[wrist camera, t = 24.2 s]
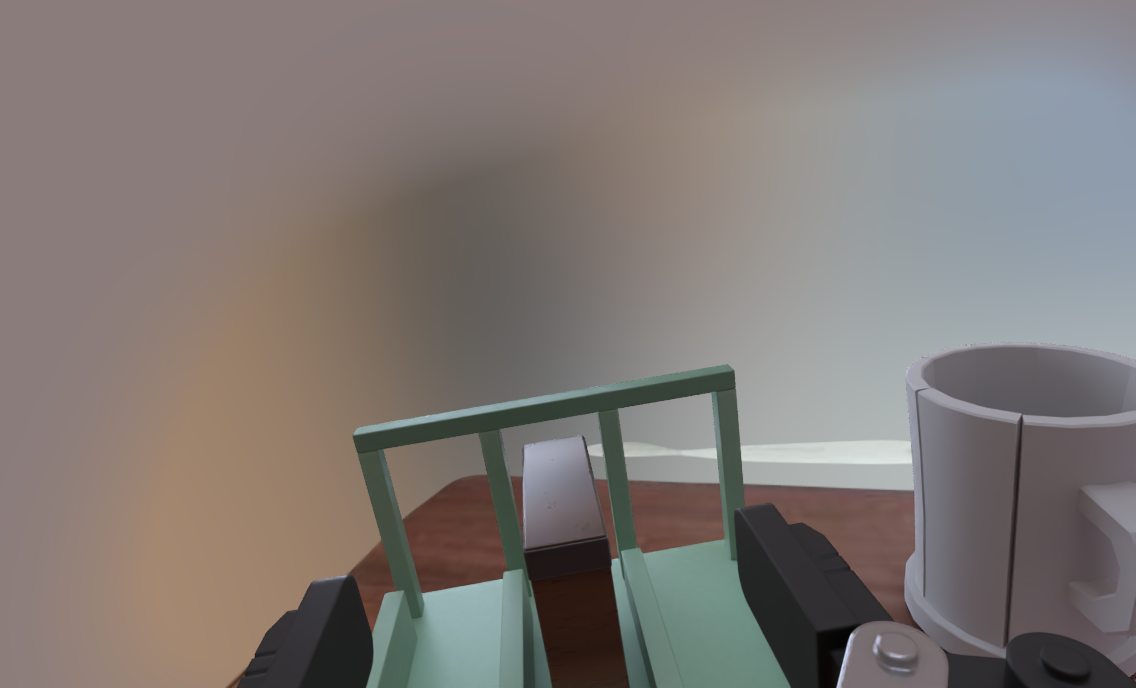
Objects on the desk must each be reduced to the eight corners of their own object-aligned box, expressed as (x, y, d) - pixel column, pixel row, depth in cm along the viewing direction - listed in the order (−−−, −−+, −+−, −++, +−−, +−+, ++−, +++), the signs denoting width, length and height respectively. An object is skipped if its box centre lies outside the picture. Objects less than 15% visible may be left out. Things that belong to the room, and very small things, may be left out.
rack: (918, 840, 20) (924, 530, 17) (316, 959, 20) (193, 662, 16) (746, 549, 36) (731, 356, 32) (405, 611, 35) (352, 420, 31)
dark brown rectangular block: (642, 758, 23) (607, 535, 20) (567, 772, 23) (522, 550, 20) (612, 610, 31) (584, 433, 28) (555, 620, 31) (522, 444, 28)
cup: (1231, 644, 25) (1286, 374, 22) (1151, 782, 21) (1204, 471, 17) (960, 535, 34) (968, 330, 30) (862, 617, 29) (859, 387, 26)
